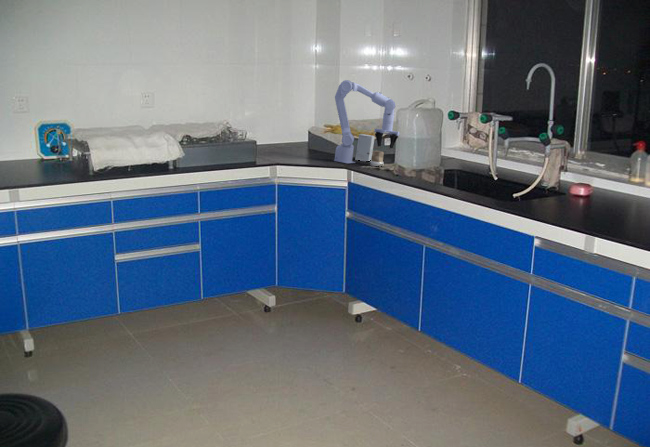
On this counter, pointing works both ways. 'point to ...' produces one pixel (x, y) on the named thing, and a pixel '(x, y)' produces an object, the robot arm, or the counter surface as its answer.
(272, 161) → the counter surface
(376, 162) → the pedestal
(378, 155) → the beech block
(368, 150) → the skincare box
